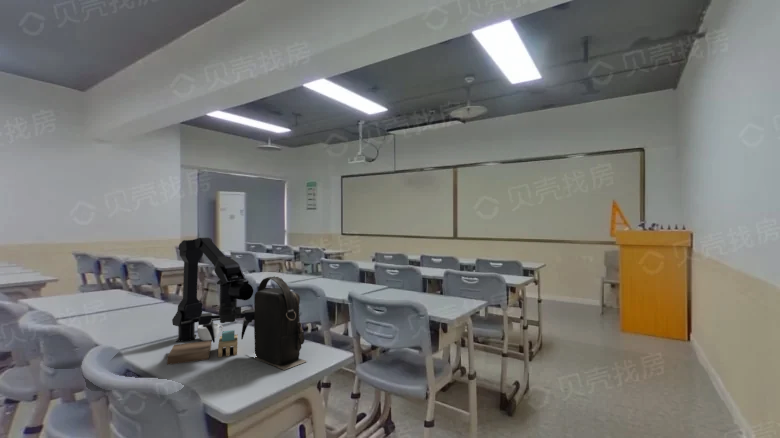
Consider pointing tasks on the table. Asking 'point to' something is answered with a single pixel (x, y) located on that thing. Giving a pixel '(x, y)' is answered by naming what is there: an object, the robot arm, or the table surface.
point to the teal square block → (228, 335)
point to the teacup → (205, 334)
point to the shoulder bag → (277, 325)
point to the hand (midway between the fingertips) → (228, 340)
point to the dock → (189, 352)
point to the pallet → (227, 346)
